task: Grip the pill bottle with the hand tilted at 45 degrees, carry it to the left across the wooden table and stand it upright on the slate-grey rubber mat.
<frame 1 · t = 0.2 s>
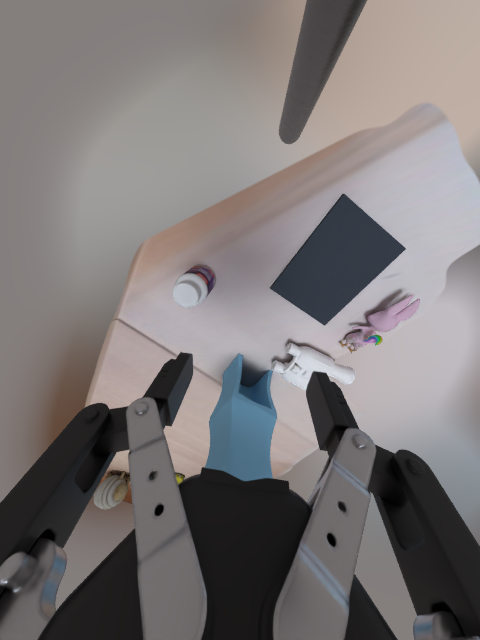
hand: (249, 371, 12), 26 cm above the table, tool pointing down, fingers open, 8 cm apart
mat: (331, 269, 34), on the table
binoculars: (308, 363, 45), on the table
pill bottle: (202, 278, 37), on the table
vase: (245, 374, 48), on the table
pink figurine: (371, 320, 38), on the table
toy car: (176, 477, 80), on the table
toy sheep: (119, 473, 84), on the table
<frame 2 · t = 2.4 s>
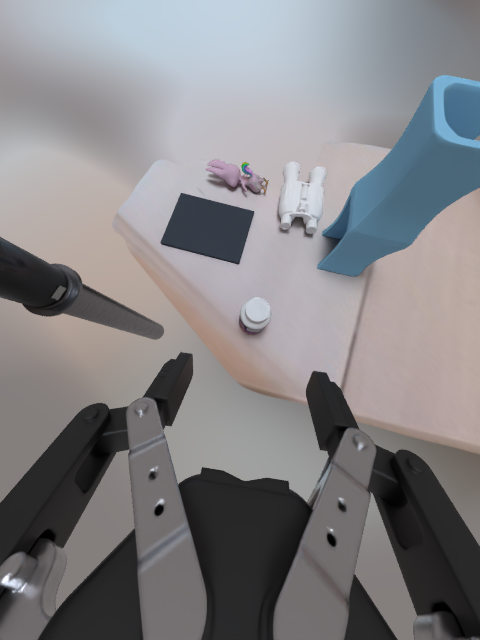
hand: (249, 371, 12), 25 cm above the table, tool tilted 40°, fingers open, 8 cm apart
mat: (209, 228, 43), on the table
binoculars: (298, 207, 46), on the table
pill bottle: (251, 322, 39), on the table
vase: (340, 254, 43), on the table
pink figurine: (237, 185, 47), on the table
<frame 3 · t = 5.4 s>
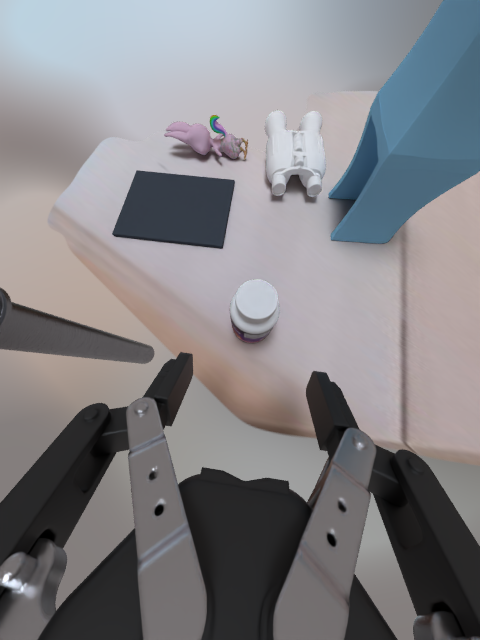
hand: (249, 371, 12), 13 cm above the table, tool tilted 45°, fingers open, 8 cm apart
mat: (177, 208, 32), on the table
binoculars: (291, 169, 35), on the table
pill bottle: (250, 325, 27), on the table
vase: (358, 218, 32), on the table
pink figurine: (209, 154, 36), on the table
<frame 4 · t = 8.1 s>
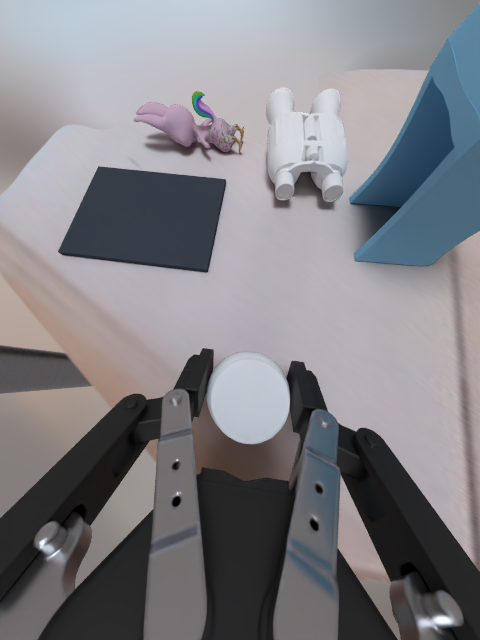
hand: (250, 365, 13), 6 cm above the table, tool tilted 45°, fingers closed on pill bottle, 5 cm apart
mat: (149, 216, 24), on the table
binoculars: (299, 165, 27), on the table
pill bottle: (245, 386, 19), on the table, touching gripper
vase: (390, 231, 24), on the table
pink figurine: (194, 145, 28), on the table
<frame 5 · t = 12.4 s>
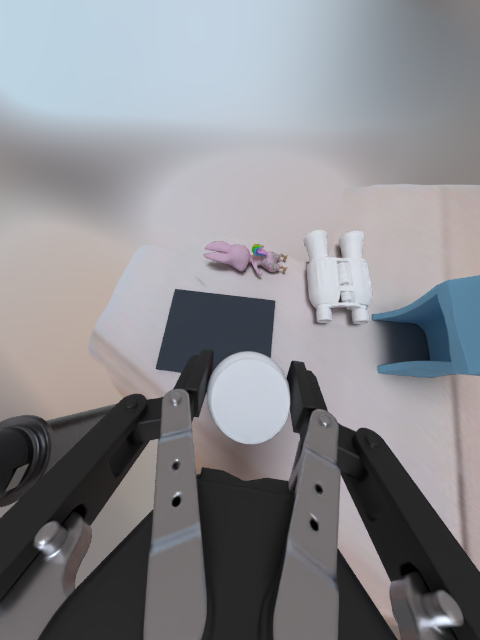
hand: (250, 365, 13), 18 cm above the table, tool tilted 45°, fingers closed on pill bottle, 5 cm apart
mat: (218, 333, 32), on the table
binoculars: (331, 283, 34), on the table
pill bottle: (245, 386, 19), point 11 cm above the table, touching gripper
vase: (404, 345, 31), on the table
pink figurine: (245, 264, 36), on the table
when the fingers open (7 cm above the table, at t = 17.1 s): pill bottle stays where it is, resting on mat.
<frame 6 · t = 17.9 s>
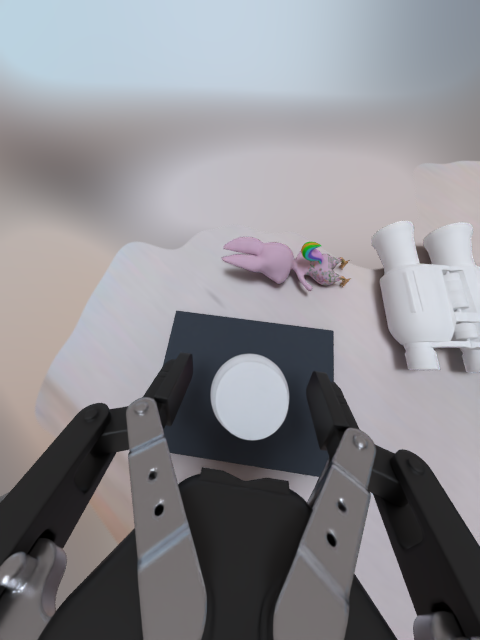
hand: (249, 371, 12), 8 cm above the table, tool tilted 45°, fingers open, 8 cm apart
mat: (245, 384, 20), on the table
binoculars: (414, 302, 23), on the table
pill bottle: (246, 386, 19), resting on mat
pink figurine: (282, 272, 24), on the table
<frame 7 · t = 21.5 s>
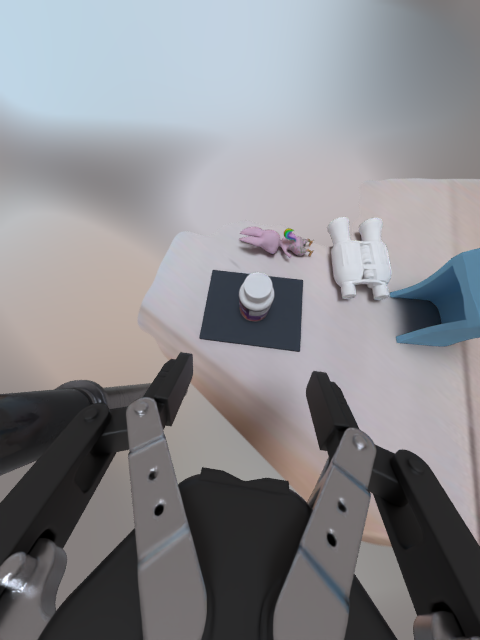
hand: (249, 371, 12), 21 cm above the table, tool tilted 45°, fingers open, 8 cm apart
mat: (253, 308, 36), on the table
binoculars: (352, 265, 38), on the table
pill bottle: (253, 308, 35), resting on mat
vase: (419, 319, 35), on the table
pink figurine: (274, 248, 40), on the table
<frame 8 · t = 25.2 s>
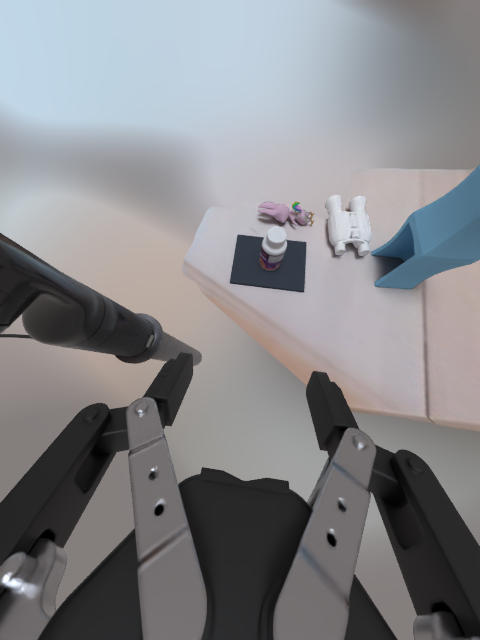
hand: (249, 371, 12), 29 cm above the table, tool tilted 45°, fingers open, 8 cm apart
mat: (269, 262, 47), on the table
binoculars: (343, 232, 50), on the table
pill bottle: (269, 262, 47), resting on mat
vase: (392, 270, 47), on the table
pink figurine: (284, 220, 51), on the table
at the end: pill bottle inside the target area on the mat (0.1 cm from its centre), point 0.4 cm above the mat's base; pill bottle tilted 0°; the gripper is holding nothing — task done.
